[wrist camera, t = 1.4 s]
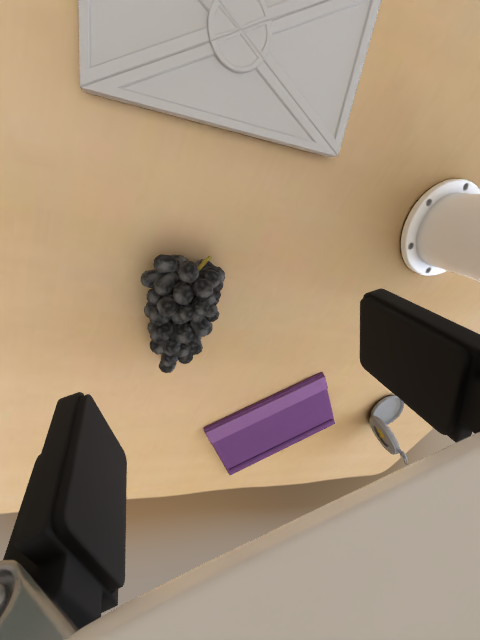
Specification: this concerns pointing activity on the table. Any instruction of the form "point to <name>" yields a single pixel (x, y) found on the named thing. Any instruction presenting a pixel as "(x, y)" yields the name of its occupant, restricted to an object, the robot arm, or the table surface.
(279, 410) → the towel
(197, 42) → the envelope
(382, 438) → the pocket watch
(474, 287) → the table surface
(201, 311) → the fruit
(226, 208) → the table surface
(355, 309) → the table surface
